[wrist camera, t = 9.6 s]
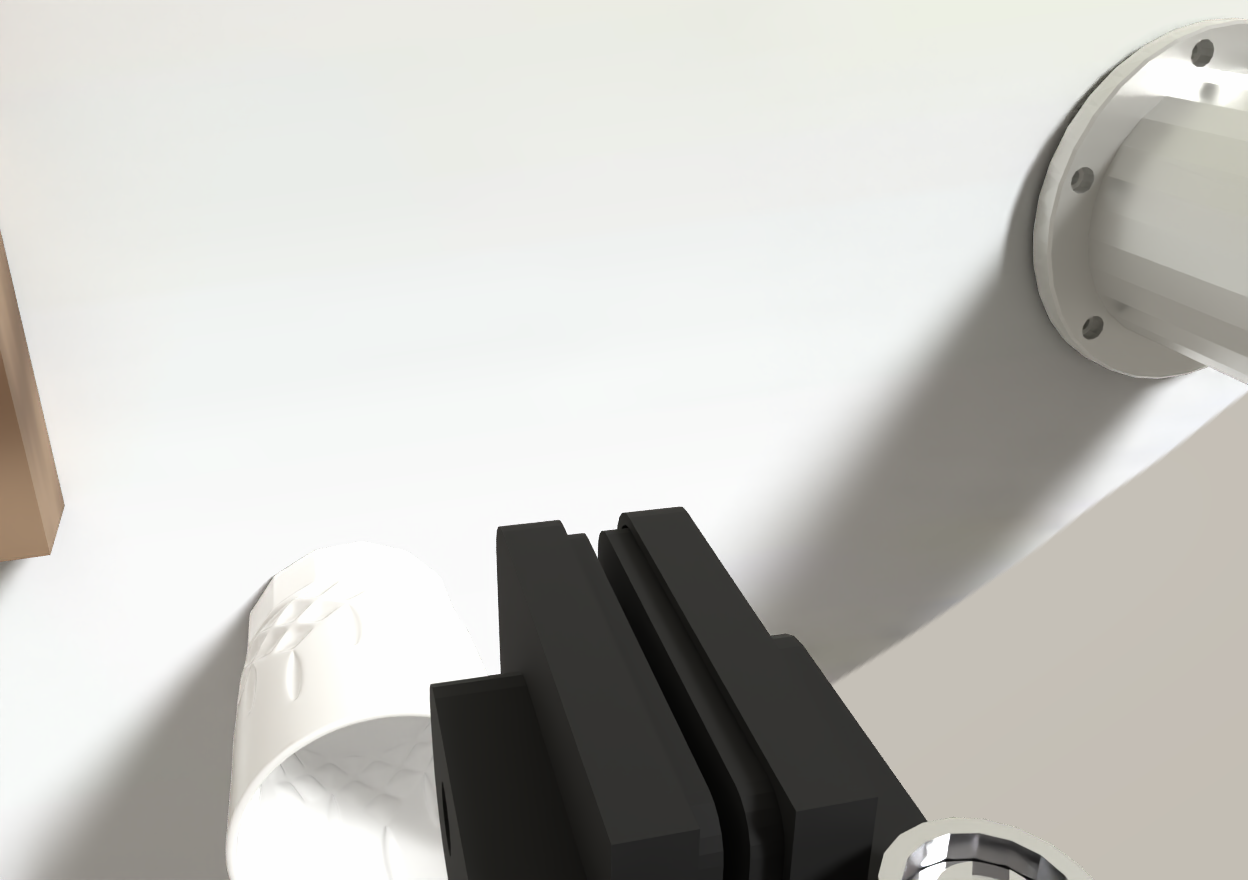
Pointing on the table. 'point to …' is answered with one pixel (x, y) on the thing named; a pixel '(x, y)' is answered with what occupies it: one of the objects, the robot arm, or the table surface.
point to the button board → (23, 443)
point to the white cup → (343, 720)
